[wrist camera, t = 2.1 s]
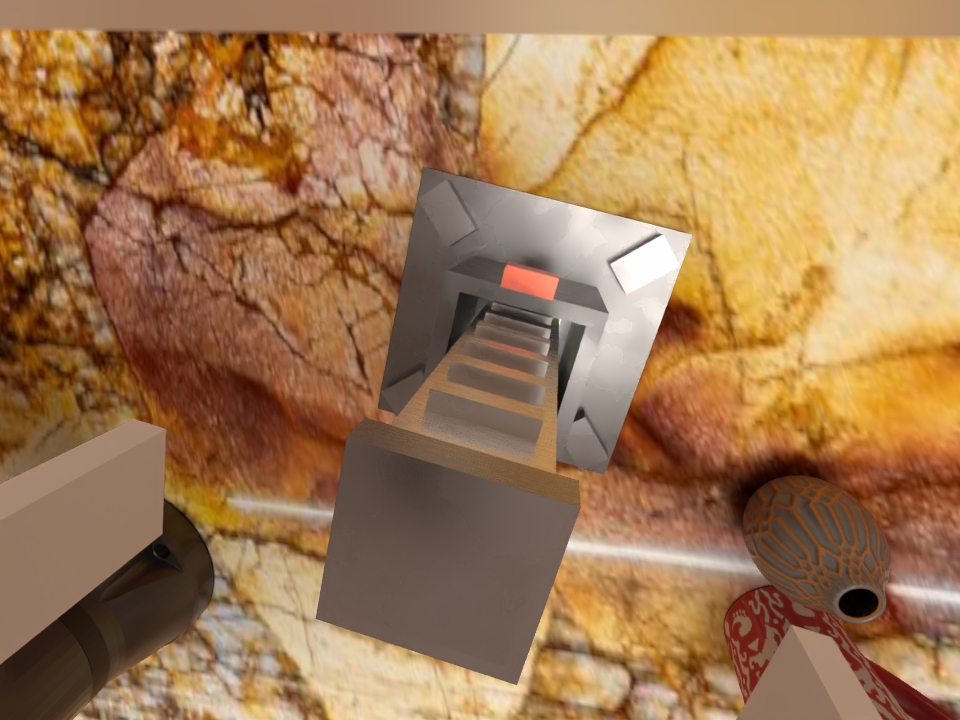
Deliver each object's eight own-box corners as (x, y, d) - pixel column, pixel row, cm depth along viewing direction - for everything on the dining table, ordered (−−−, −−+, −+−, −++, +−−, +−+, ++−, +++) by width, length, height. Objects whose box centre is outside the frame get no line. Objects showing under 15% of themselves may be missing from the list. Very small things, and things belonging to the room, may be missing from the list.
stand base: (382, 402, 35) (321, 468, 26) (427, 168, 30) (371, 151, 21) (603, 467, 34) (617, 558, 25) (688, 234, 29) (744, 245, 20)
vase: (867, 488, 32) (974, 586, 24) (800, 566, 34) (877, 680, 26) (768, 441, 32) (840, 522, 24) (708, 522, 34) (755, 622, 26)
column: (474, 355, 32) (315, 618, 12) (492, 280, 31) (348, 428, 10) (546, 375, 32) (517, 684, 11) (568, 300, 30) (583, 499, 10)
